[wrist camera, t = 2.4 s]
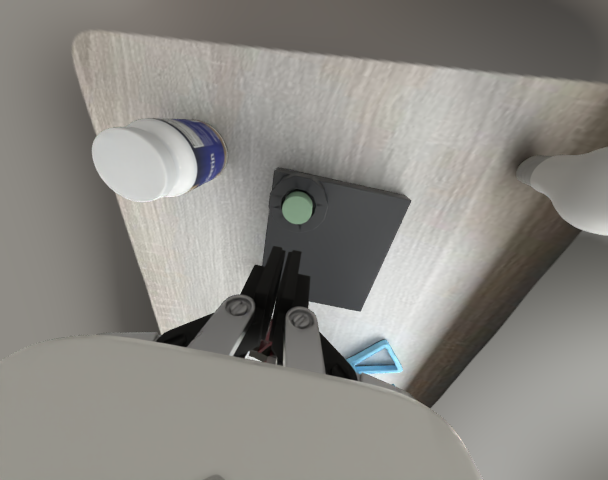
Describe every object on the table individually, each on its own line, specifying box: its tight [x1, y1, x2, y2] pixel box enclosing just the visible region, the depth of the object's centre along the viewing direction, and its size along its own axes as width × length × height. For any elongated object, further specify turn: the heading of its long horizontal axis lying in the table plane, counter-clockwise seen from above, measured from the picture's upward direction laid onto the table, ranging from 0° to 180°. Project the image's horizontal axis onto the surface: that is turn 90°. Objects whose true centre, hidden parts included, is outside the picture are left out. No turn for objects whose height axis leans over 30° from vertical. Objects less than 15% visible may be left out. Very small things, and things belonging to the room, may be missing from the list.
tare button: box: [282, 191, 313, 224], centre depth 21 cm, size 3×3×2 cm
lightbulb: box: [516, 147, 608, 235], centre depth 16 cm, size 6×6×11 cm
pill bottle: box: [92, 118, 228, 202], centre depth 18 cm, size 6×6×10 cm
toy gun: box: [249, 321, 277, 365], centre depth 33 cm, size 10×12×5 cm
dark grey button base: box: [262, 167, 411, 311], centre depth 25 cm, size 16×14×4 cm
